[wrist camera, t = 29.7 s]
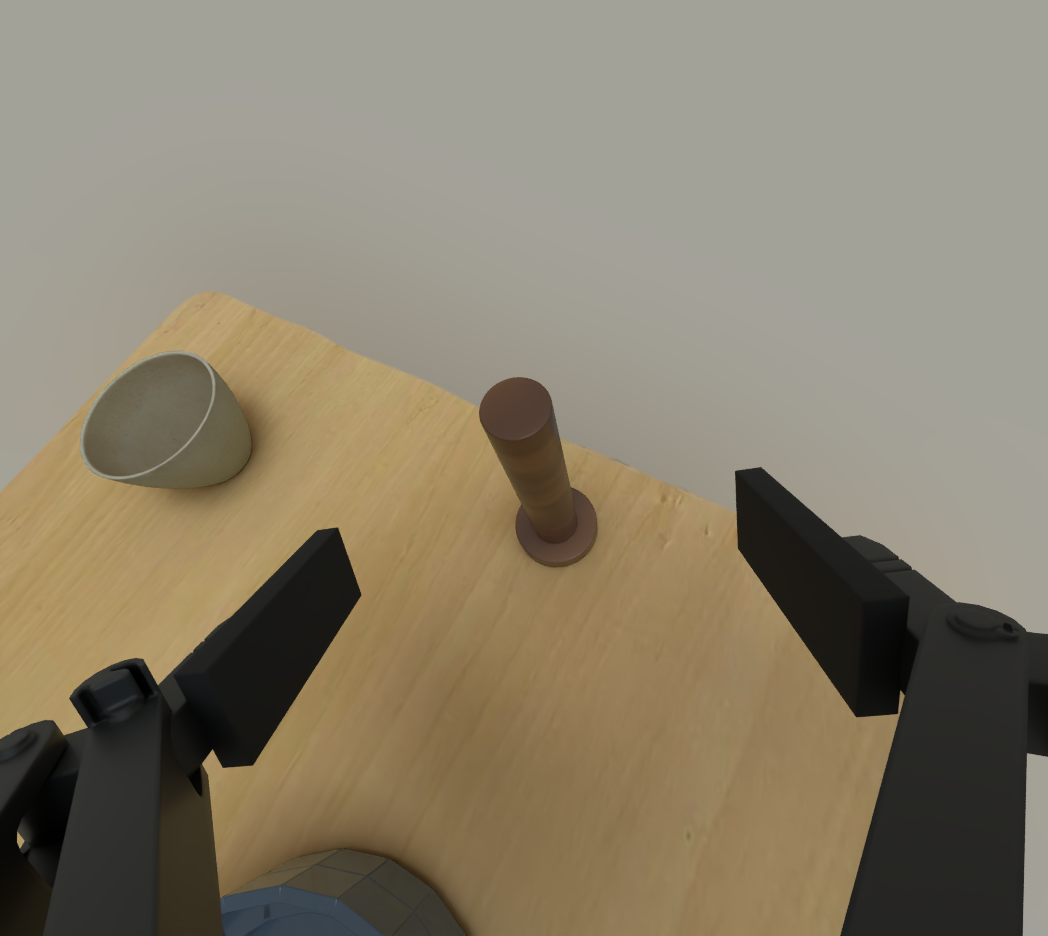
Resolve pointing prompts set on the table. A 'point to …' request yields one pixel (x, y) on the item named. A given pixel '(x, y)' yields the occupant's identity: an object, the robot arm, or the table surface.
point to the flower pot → (166, 425)
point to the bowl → (337, 900)
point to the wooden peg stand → (538, 473)
